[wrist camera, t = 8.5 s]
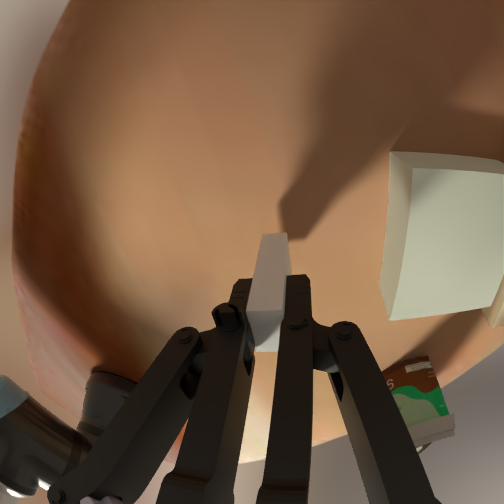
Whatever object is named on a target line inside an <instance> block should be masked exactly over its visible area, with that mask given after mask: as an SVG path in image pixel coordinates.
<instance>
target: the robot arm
mask: <svg viewBox="0 0 504 504" xmlns="http://www.w3.org/2000/svg"><path fill="white" fill-rule="evenodd" d="M291 271H292V269H291V261H290V252H289V244H288V236H287V232H286V233H274V234H263V235H262V238H261V242H260V247H259V252H258V257H257V261H256V266H255V271H254V275H253V278H250V279H239V280H238V281H237V282H236V283H235V284H234V286H233V289H232V293H231V296H230V299H229V302H227V303H222V304H220V305H218V306H217V307H215V308H214V309H213V311H212V316H213V319H214V321H215V324H216V328H214V329H211V330H208V331H204V332H200V333H199V332H198V330H197V329H195V328H193V327H185V328H181V329H179V330H178V331H176V332H175V333H174V334H173V336H172V337H171V339H170V340H169V341H168V343H167V344H166V345H165V347H164V348H163V349H162V351H161V352H160V354H159V355H158V356H157V358H156V359H155V360H154V362H153V363H152V365H151V366H150V367H149V369H148V370H147V371H146V373H145V374H144V376H143V377H142V378H141V380H140V381H139V383H138V384H135V383H133V382H131V381H129V380H126V379H124V378H121V377H119V376H116V375H113V374H110V373H105V372H94V373H92V374H91V376H90V378H89V380H88V381H87V383H86V388H85V390H86V395H85V399H84V404H83V411H82V417H81V420H80V422H79V424H78V426H77V429H76V430H74V429H73V428H71V427H70V426H69V425H67V424H66V423H64V422H63V421H62V420H60V419H59V418H58V417H56V416H55V415H54V414H52V413H51V412H50V411H48V410H47V409H46V408H45V407H43V406H42V405H41V404H40V403H38V402H37V401H36V400H35V399H34V398H32V397H31V396H30V395H29V393H28V392H27V391H24V390H23V389H22V388H20V387H19V386H18V385H17V384H16V383H14V382H13V381H12V380H11V379H10V378H9V377H7V376H5V375H0V504H18V502H19V500H20V498H22V497H33V496H34V494H35V492H36V490H37V488H38V486H40V487H42V488H44V489H46V490H48V492H47V497H48V500H49V503H50V504H134V503H135V502H136V500H137V499H138V498H139V497H140V496H141V495H142V493H143V492H144V490H145V489H146V487H147V486H148V484H149V482H150V481H151V479H152V478H153V476H154V474H155V473H156V471H157V469H158V468H159V466H160V464H161V462H162V461H163V460H164V458H165V456H166V455H167V453H168V451H169V450H170V448H171V446H172V445H173V443H174V441H175V440H176V438H177V436H178V435H179V433H180V431H181V430H182V428H183V426H184V424H185V423H186V421H187V419H188V418H189V419H188V422H187V426H186V429H185V433H184V436H183V440H182V443H181V447H180V450H179V454H178V457H177V461H176V464H175V467H174V469H173V471H171V472H170V473H168V474H167V475H166V476H165V477H164V479H163V481H162V484H161V487H160V490H159V494H158V498H157V501H156V504H234V494H233V489H234V482H235V477H236V472H237V466H238V461H239V455H240V449H241V444H242V438H243V432H244V426H245V420H246V415H247V409H248V402H249V396H250V390H251V384H252V378H253V372H254V365H255V356H254V348H256V352H275V351H278V358H277V368H276V378H275V387H274V397H273V406H272V414H271V423H270V431H269V439H268V446H267V454H266V461H265V469H264V476H263V482H262V485H261V487H260V489H259V491H258V495H257V500H256V504H308V493H309V481H310V465H311V447H312V421H313V369H316V370H321V371H325V372H327V373H328V376H329V379H330V382H331V385H332V388H333V390H334V393H335V396H336V399H337V402H338V405H339V408H340V411H341V414H342V417H343V420H344V423H345V426H346V429H347V432H348V435H349V438H350V442H351V444H352V448H353V451H354V454H355V457H356V460H357V463H358V467H359V470H360V473H361V477H362V480H363V483H364V487H365V490H366V493H367V497H368V500H369V504H442V503H440V502H439V501H438V500H437V499H436V498H435V497H434V494H433V491H432V489H431V486H430V483H429V480H428V478H427V475H426V473H425V470H424V467H423V465H422V462H421V460H420V457H419V455H418V452H417V450H416V447H415V445H414V443H413V440H412V438H411V435H410V433H409V431H408V429H407V426H406V424H405V422H404V419H403V417H402V415H401V413H400V410H399V408H398V406H397V404H396V402H395V400H394V397H393V395H392V393H391V391H390V389H389V387H388V385H387V383H386V380H385V378H384V376H383V374H382V372H381V370H380V368H379V366H378V364H377V362H376V360H375V358H374V356H373V354H372V352H371V350H370V348H369V346H368V344H367V342H366V340H365V338H364V336H363V334H362V333H361V331H360V329H359V328H358V326H357V325H356V324H354V323H352V322H347V321H342V322H338V323H335V324H334V325H333V326H331V327H327V326H323V325H320V324H318V323H317V322H316V321H314V319H313V317H312V306H311V287H310V279H309V278H308V277H307V275H306V274H301V275H291Z"/></svg>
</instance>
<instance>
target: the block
mask: <svg viewBox="0 0 504 504" xmlns="http://www.w3.org/2000/svg"><path fill="white" fill-rule="evenodd" d="M503 275H504V163H502V162H500V161H498V160H494V159H487V158H479V157H471V156H461V155H450V154H438V153H422V152H398V151H389V192H388V209H387V222H386V233H385V243H384V252H383V260H382V267H381V274H380V281H379V288H380V291H381V294H382V297H383V300H384V304H385V307H386V310H387V313H388V317H389V320H390V321H393V320H402V319H411V318H420V317H427V316H435V315H442V314H449V313H455V312H462V311H468V310H474V309H479V308H485V307H490V306H491V305H492V302H493V300H494V298H495V295H496V293H497V291H498V288H499V286H500V283H501V281H502V278H503Z"/></svg>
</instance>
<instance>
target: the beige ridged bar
mask: <svg viewBox="0 0 504 504" xmlns="http://www.w3.org/2000/svg"><path fill="white" fill-rule="evenodd" d="M480 309H481V311H482V313H483V315H484V317H485V318H486V320H487V322H488V324H489V326H490V328H491V329H492V328H496V327H500V326H503V325H504V275H503V278H502V281H501V283H500V286H499V288H498V291H497V293H496V295H495V298H494V300H493V302H492V305H491V306H490V307H485V308H480Z"/></svg>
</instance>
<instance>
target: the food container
mask: <svg viewBox="0 0 504 504" xmlns="http://www.w3.org/2000/svg"><path fill="white" fill-rule="evenodd" d="M382 374H383V376H384V378H385V380H386V383H387V385H388V387H389V389H390V391H391V393H392V395H393V397H394V400H395V402H396V404H397V406H398V408H399V410H400V413H401V415H402V417H403V419H404V422H405V424H406V426H407V429H408V431H409V433H410V435H411V438H412V440H413V443H414V445H415V447H416V450H417V452H418V454H419V453H421V452H422V451H423V450H425V449H426V448H427V447H428V446H429V445H430V444H431V443H432V442H434V441H437V440H441V439H444V438H447V437H451V436H454V435H455V434H454V428H455V419H454V414H451V415H449V412H448V410H447V406H446V403H445V400H444V397H443V394H442V391H441V389H440V386H439V383H438V380H437V378H436V375H435V372H434V370H433V367H432V365H431V362H430V360H429V357H428V356H424V357H417V358H413V359H408V360H405V361H402V362H400V363H397V364H395V365H392V366H391V367H389V368H387V369H386V370H384V371H382Z"/></svg>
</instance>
